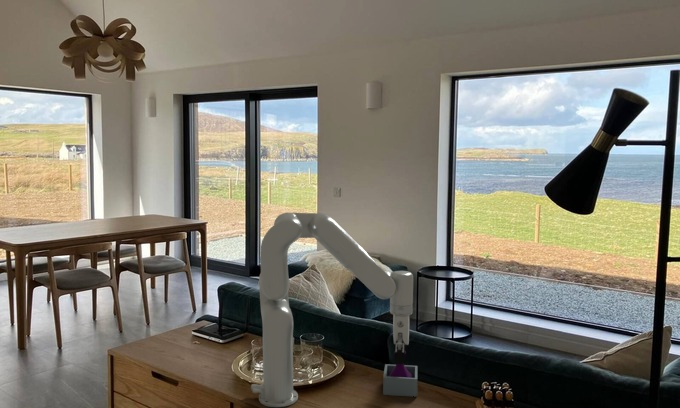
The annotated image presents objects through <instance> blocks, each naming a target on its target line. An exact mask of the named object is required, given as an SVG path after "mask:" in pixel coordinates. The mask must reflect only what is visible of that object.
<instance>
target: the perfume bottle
mask: <svg viewBox="0 0 680 408" xmlns="http://www.w3.org/2000/svg"><path fill="white" fill-rule="evenodd" d="M397 346H398V345H397ZM395 351H396V349H395V350H394V351H393V354H394V355H395ZM404 352H405V355H406V354H407V351H406V349H405V350H404ZM395 365H396V366H395V367H394V369H393V370H392V371H391V372H390V375H389V377H406V378H411V377H412V374H411V373H410V372H409V371H408V370H407V369H406V367H405V366H404V365H405V363H404V364H395Z"/></svg>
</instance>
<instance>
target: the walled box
mask: <svg viewBox="0 0 680 408" xmlns="http://www.w3.org/2000/svg"><path fill="white" fill-rule="evenodd" d="M395 366H396V364H390V363H389V364H386V363H385V364H384V370H383V376H382V379H383V380H382V381H383V382H382V383H383V384H382V395H383V396H398V397H399V396H400V397H413V396H414V397H415V398H417V397H418V365H408V364H407V365H406V364H404V366H405V367H406V369H407V370H408V371H409V372H410V373H411V374H412V377H411V378H406V377H389V375H390V372H391V371H392V370H393V369H394V367H395Z"/></svg>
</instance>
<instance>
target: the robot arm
mask: <svg viewBox="0 0 680 408" xmlns="http://www.w3.org/2000/svg"><path fill="white" fill-rule="evenodd" d="M299 239H315V240H316V241H317V242H318V243H319V244H320V245H321V246H322V247H323V248H324V249H326V251H327V252H328V253H330V254H331V256H333V258H335V259H336V260H337V261H338V262H339V264H341V265H342V266H343V268H345V269H346V270H348V271H349V272H350V273H352V274H353V275H354V276H355V277H356V278H357V279H358V280H359V281H360V282H361V283H362V284H364V286H365V287H366V288H367V289H368V290H370V291H371V292H372V294H374V295H375V297H377V298H379V299H381V300H388V299H389V313H390V314H391V315H393V318H392V319H393V320H392V321H393V323H392V324H393V325H392V335H393V337H392V338H393V344H394V345H395V350H396V351H395V350H394V351H395V354H394V365H396V364H404V365H405V356H406V354H405V352H404V350H405V351H406V346H409V344H410V343H409V342H410V316H411V315H412V314H413V303H414V274H413V273H412V272H411V271H408V270H395V271H390V270H389V271H388V270H384V269H383V268H382V267H381V266H380V265H379V264H378V263H376V261H375V260H374V259H373V258H372V257H371V256H370V255H369V254H368V253H367V251H366V250H365V249H364V248H363V247H362V246H361V245H360V244H359V243H358V242H357V241H356V240H355V239H354V238H353V237H352V236H351V235H350V234H349V233H348V232H347V231H346V230H345V229H344V228H343V227H342V226H341V225H340V224H339V223H338V222H337V221H336V220H335V219H333V218H332V217H331V216H330V215H328V214H326V213H321V212H320V213H319V212H283V213H281V214H279V215H277V217H276V218H275V219H274V222H273V226H271V227H270V228H269V229H268V231H266V233H265V234H264V236H263V238H262V241H261V244H260V253H259V254H260V274H259V277H258V287H259V302H260V313H261V321H262V322H261V323H262V363H263V364H262V367H263V368H262V372H263V373H262V375H263V376H262V377H263V383H260V384H257V383H256V384H255V383H252V384H251V386H250V389H251V390H250V391H252V394H259V395H258V401H259V403H260V404H261V405H263V406H264V407H268V408H269V407H270V408H284V407H288V406H291V405H293V404H295V403H296V402H297V401H298V399H299V394H298V392H297V391H296V390H295V389H294V356H293V355H294V354H293V353H294V351H293V348H294V346H293V338H294V317H293V312H292V309H291V307H290V302H289V301H290V300H289V291H290V283H291V282H290V277H289V267H288V265H289V263H288V261H289V260H288V253H289V248H290V247H291V246H292V244H293V243H296V242H297V241H298V240H299ZM397 345H398V346H397Z"/></svg>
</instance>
